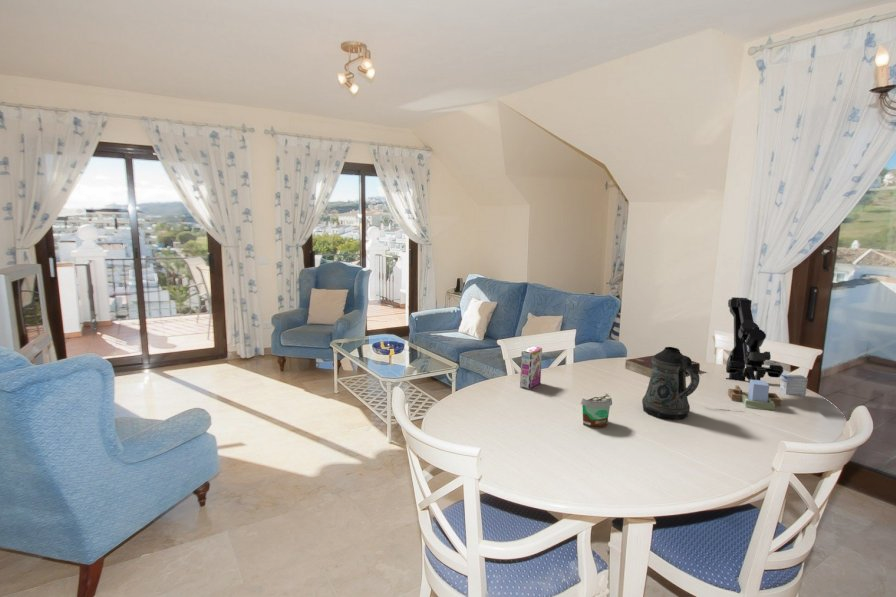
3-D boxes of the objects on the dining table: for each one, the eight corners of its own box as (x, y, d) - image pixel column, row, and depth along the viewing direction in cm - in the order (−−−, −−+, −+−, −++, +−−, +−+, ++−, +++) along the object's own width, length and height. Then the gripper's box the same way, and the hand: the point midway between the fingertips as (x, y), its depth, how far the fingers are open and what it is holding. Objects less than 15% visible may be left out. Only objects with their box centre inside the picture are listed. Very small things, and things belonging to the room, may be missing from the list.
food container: (592, 432, 164) (594, 404, 162) (579, 425, 169) (581, 398, 168) (618, 425, 169) (620, 398, 168) (605, 419, 175) (607, 392, 173)
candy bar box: (530, 389, 206) (531, 352, 203) (519, 387, 208) (520, 350, 206) (541, 383, 215) (542, 347, 212) (531, 380, 217) (532, 345, 215)
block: (747, 401, 189) (750, 379, 188) (762, 403, 187) (764, 380, 186) (751, 406, 183) (753, 384, 182) (766, 408, 182) (769, 385, 180)
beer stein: (647, 400, 193) (651, 340, 189) (701, 411, 182) (706, 347, 178) (636, 413, 180) (641, 349, 176) (694, 426, 169) (700, 357, 165)
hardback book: (656, 380, 220) (656, 370, 219) (625, 369, 237) (625, 359, 236) (699, 372, 232) (700, 362, 232) (666, 362, 249) (667, 353, 248)
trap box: (724, 393, 202) (725, 384, 202) (770, 398, 197) (771, 388, 196) (734, 409, 184) (735, 399, 184) (784, 415, 179) (786, 405, 178)
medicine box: (798, 394, 201) (801, 374, 200) (805, 398, 197) (808, 378, 195) (778, 394, 202) (781, 374, 201) (785, 397, 198) (787, 377, 196)
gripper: (730, 341, 193) (733, 375, 185) (784, 345, 187) (790, 381, 178) (724, 355, 202) (727, 388, 193) (776, 359, 195) (781, 394, 187)
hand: (756, 388), depth 188 cm, fingers closed
